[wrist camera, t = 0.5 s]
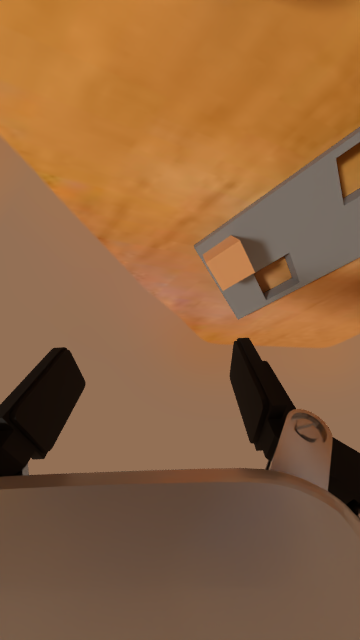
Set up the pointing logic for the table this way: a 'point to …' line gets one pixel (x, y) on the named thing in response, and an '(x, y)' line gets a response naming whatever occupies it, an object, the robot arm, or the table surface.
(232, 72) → the table surface
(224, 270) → the block
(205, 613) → the robot arm
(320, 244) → the plate
